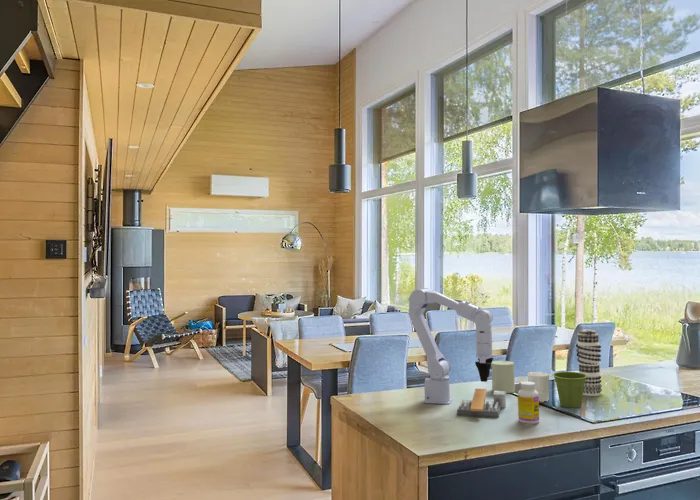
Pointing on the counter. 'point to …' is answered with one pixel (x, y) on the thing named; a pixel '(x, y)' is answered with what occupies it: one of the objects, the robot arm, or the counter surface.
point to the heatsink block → (487, 411)
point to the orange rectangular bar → (478, 400)
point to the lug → (500, 398)
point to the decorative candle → (589, 361)
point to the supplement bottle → (528, 403)
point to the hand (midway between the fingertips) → (484, 379)
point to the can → (503, 376)
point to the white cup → (540, 384)
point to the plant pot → (570, 388)
